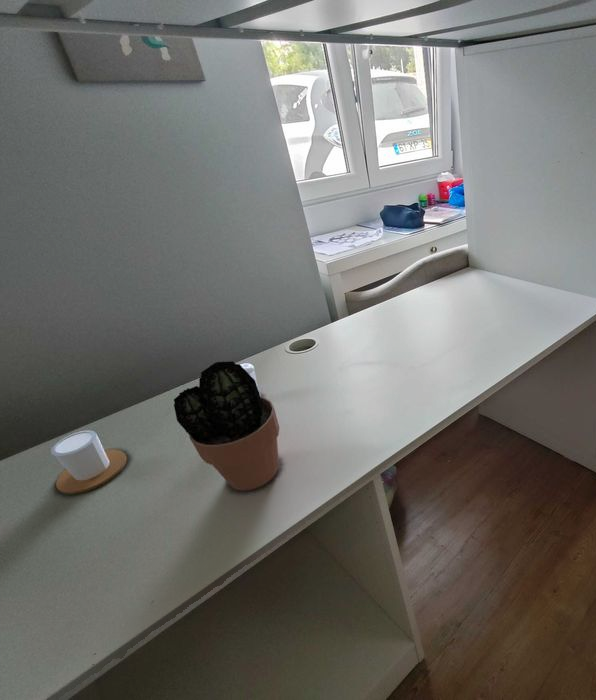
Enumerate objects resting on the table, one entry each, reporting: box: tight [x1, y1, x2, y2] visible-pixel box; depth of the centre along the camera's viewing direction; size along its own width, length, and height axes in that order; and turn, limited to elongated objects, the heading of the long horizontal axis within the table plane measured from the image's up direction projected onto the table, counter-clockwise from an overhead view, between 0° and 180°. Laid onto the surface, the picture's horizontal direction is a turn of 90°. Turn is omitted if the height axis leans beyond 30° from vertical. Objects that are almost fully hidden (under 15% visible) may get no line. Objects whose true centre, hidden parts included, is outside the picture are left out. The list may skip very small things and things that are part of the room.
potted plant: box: [173, 360, 280, 491], centre depth 77 cm, size 14×14×25 cm
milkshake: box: [240, 362, 262, 397], centre depth 101 cm, size 4×5×10 cm
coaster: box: [55, 449, 128, 495], centre depth 85 cm, size 11×11×1 cm
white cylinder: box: [50, 429, 109, 481], centre depth 84 cm, size 7×7×7 cm
